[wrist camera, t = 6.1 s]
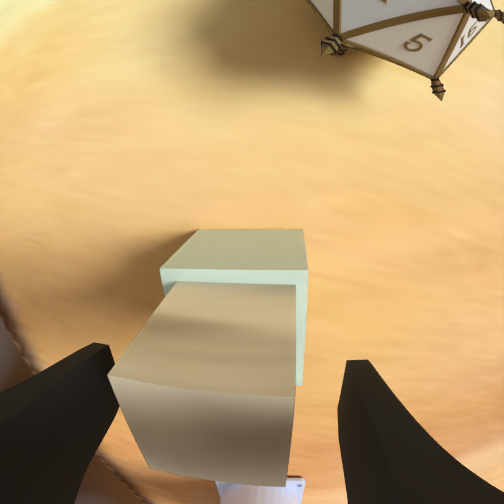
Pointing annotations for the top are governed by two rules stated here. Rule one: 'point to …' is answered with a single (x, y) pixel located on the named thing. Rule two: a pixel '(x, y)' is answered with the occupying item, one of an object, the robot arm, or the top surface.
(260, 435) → the birch block
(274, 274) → the base block
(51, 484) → the robot arm
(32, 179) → the top surface
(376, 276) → the top surface
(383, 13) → the game die
